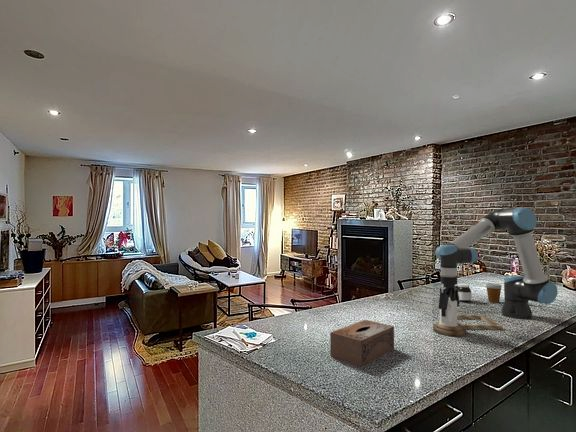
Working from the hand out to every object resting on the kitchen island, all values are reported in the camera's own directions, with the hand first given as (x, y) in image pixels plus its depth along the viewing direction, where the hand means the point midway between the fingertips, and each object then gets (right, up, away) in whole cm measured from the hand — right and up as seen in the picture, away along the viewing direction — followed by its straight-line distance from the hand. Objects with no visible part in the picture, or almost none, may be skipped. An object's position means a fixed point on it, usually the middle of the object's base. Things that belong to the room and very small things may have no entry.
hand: (449, 321), depth 171 cm
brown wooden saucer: (0, -5, 0) cm, 5 cm away
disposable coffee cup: (+60, -7, +63) cm, 87 cm away
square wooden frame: (+18, -5, +13) cm, 23 cm away
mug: (-1, -2, -1) cm, 2 cm away
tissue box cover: (-49, -5, -27) cm, 56 cm away
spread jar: (+39, -7, +67) cm, 78 cm away
